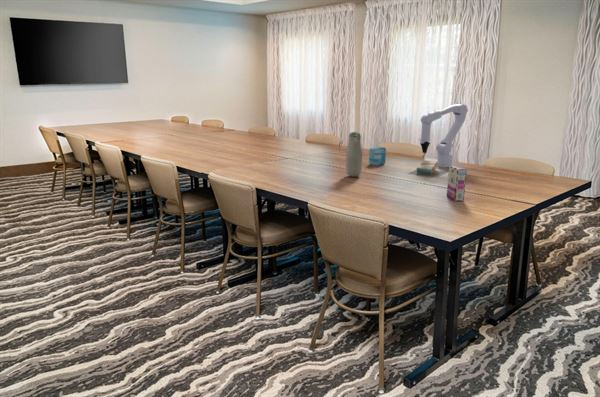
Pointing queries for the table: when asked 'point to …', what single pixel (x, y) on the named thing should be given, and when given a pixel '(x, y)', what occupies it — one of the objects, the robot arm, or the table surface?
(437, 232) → the table surface
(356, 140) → the glass bottle
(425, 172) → the ash slab
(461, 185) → the candy bar box
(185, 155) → the table surface
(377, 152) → the data package
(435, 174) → the rubber mat
